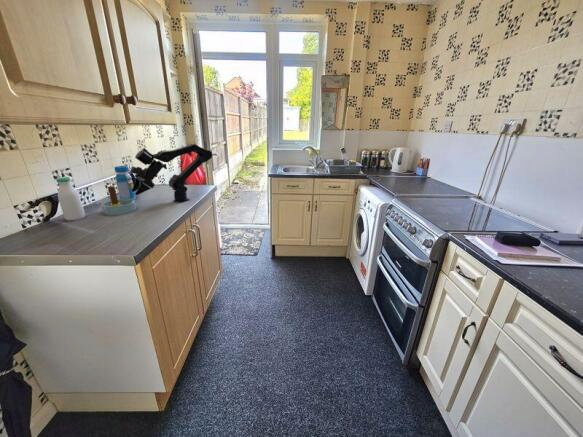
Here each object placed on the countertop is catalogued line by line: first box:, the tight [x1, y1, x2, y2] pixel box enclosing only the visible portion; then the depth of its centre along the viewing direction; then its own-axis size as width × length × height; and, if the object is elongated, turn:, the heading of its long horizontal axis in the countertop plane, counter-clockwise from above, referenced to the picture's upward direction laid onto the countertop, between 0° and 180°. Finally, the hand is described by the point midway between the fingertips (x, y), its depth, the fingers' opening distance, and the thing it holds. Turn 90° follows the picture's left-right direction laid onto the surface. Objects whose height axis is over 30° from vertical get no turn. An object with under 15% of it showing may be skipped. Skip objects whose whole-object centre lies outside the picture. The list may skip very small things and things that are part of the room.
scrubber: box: [107, 185, 121, 206], centre depth 127 cm, size 4×4×13 cm
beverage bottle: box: [114, 165, 137, 200], centre depth 148 cm, size 8×8×20 cm
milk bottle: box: [56, 176, 86, 221], centre depth 116 cm, size 8×8×20 cm
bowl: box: [100, 198, 137, 216], centre depth 130 cm, size 15×15×5 cm
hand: (134, 192), depth 132 cm, fingers open, 9 cm apart
